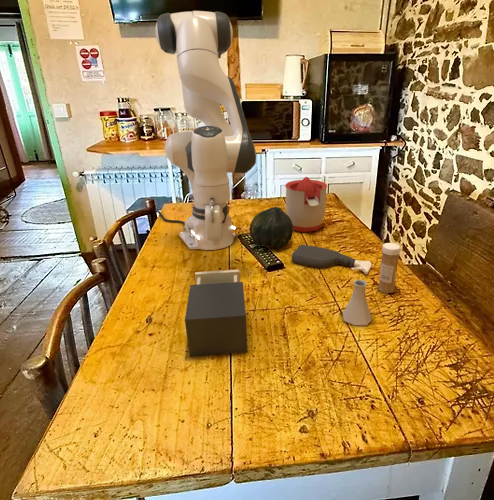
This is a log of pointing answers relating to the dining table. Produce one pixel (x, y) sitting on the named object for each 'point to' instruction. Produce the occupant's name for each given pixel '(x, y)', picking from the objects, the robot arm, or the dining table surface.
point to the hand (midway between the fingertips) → (216, 243)
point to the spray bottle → (326, 258)
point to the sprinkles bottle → (389, 267)
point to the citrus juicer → (306, 204)
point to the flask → (357, 306)
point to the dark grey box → (216, 319)
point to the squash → (271, 228)
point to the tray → (217, 277)
